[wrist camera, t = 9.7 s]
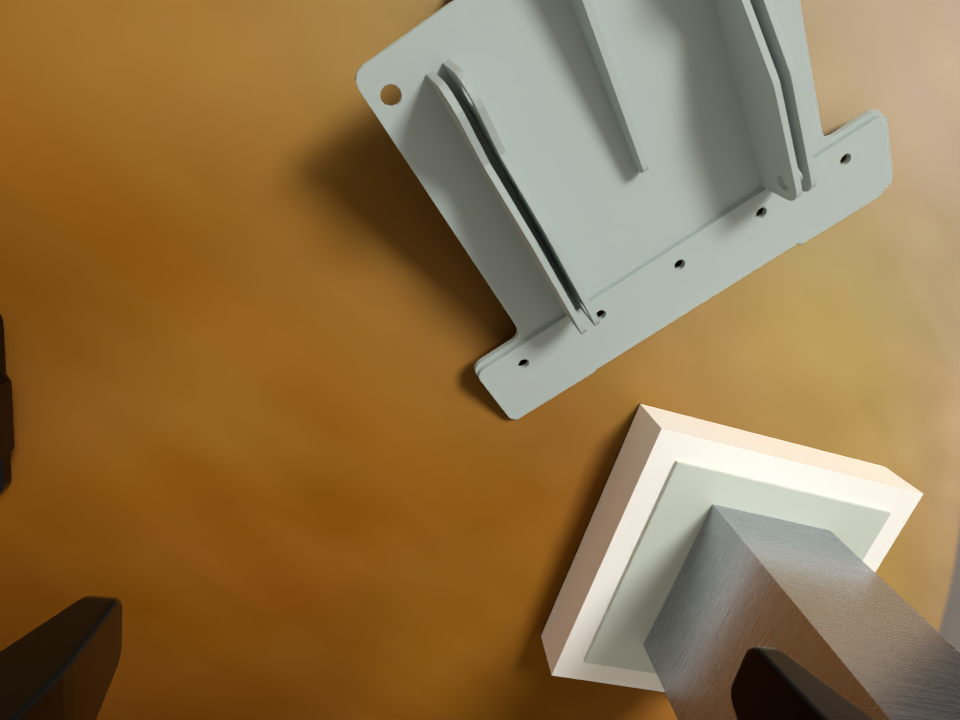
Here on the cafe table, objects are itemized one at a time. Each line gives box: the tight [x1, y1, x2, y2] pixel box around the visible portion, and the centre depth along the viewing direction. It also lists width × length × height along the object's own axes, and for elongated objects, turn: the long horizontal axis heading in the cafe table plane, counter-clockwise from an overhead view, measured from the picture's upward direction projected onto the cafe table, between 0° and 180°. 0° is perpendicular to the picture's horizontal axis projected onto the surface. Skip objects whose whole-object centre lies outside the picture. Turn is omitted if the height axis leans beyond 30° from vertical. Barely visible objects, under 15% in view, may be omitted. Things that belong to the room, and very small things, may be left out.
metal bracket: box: [355, 0, 893, 419], centre depth 19 cm, size 14×6×15 cm
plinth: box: [541, 404, 923, 692], centre depth 24 cm, size 11×11×2 cm
